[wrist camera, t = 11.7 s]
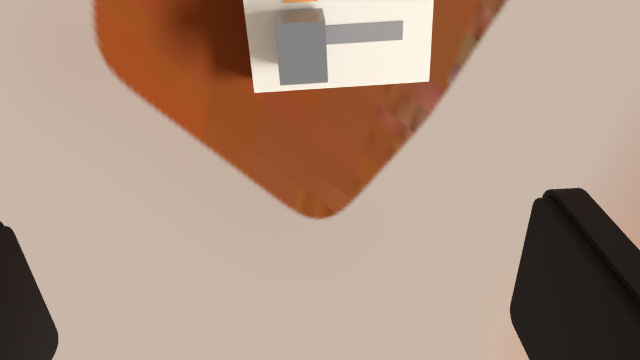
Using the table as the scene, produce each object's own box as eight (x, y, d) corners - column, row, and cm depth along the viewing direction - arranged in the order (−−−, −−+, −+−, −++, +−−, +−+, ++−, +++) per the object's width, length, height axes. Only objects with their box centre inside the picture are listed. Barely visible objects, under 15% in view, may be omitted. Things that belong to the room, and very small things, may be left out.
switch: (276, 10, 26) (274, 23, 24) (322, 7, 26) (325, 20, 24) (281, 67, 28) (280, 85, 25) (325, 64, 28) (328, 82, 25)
